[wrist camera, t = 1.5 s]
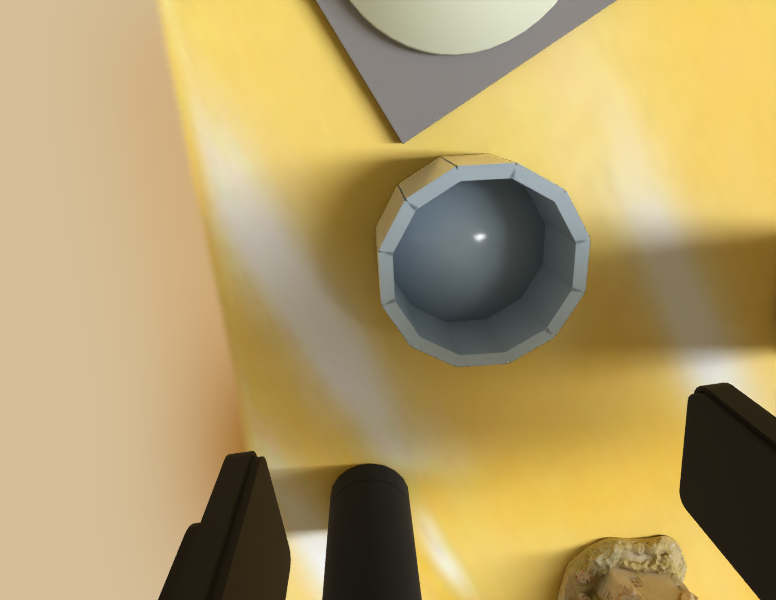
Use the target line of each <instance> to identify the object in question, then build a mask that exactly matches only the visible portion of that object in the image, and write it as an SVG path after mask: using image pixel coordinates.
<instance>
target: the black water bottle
mask: <svg viewBox="0 0 776 600" xmlns="http://www.w3.org/2000/svg"><path fill="white" fill-rule="evenodd" d="M322 600H422V598H421V590H420V582H419V574H418V566H417V558H416V550H415V542H414V534H413V526H412V517H411V509H410V501H409V493H408V487H407V485H406V483H405V481H404V479H403V478H402V477H401V476H400V475H399V474H398V473H397V472H396V471H394V470H392V469H390V468H388V467H385V466H382V465H375V464H367V465H359V466H356V467H354V468H351V469H349V470H347V471H346V472H345V473H343V474H342V475H341V476H339V477H338V479H337V480H336V482H335V484H334V485H333V487H332V492H331V497H330V510H329V522H328V535H327V548H326V560H325V573H324V585H323V598H322Z"/></svg>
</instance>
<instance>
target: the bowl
mask: <svg viewBox="0 0 776 600" xmlns="http://www.w3.org/2000/svg"><path fill="white" fill-rule="evenodd" d="M375 231H376V248H377V266H378V279H379V288H380V298H381V304H382V307H383V308H384V310H385V311H386V313H387V314H388V315H389V317H390V318H391V320H392V321H393V323H394V324H395V325H396V327H397V328H398V330H399V331H400V332H401V334H402V335H403V337H404V338H405V340H406V341H407V342H408V344H409V345H411V347H412V348H415V349H417V350H419V351H421V352H424V353H426V354H428V355H430V356H433V357H435V358H437V359H439V360H441V361H444V362H446V363H448V364H450V365H453V366H455V367H456V366H457V367H468V366H483V365H498V364H508V362H509V363H511V362H513V361H514V360H516V359H518V358H519V357H521V356H523V355H525V354H526V353H528V352H530V351H532V350H533V349H535V348H537V347H539V346H540V345H542V344H544V343H546V342H547V341H549V340H551V339H553V338H554V336H556V335H557V333H558V332H559V331H560V329H561V328H562V326H563V325H564V323H565V322H566V320H567V319H568V317H569V316H570V314H571V313H572V311H573V310H574V308H575V307H576V305H577V304H578V302H579V301H580V299H581V298H582V296H583V295H584V292H583V291H586V281H587V270H588V260H589V249H590V239H589V238H590V237H589V235H588V233H587V231H586V229H585V227H584V225H583V223H582V221H581V219H580V217H579V215H578V213H577V211H576V209H575V207H574V205H573V203H572V201H571V199H570V197H569V195H568V193H567V191H565V189H563V188H561V187H559V186H558V185H556V184H554V183H552V182H550V181H549V180H547V179H545V178H543V177H542V176H540V175H538V174H536V173H534V172H533V171H531V170H529V169H527V168H525V167H524V166H522V165H520V164H518V163H516V162H513V161H510V160H507V159H504V158H501V157H498V156H495V155H492V154H473V155H455V156H441V158H440V157H438V158H437V159H435V160H434V161H432V162H431V163H429V164H428V165H426V166H424V167H423V168H421V169H420V170H418V171H417V172H415V173H414V174H412V175H411V176H409V177H408V178H406V179H405V180H403V181H402V182H400V183H399V186H398V185H397V186H396V188H395V190H394V192H393V194H392V196H391V198H390V200H389V202H388V204H387V206H386V208H385V210H384V212H383V214H382V216H381V218H380V220H379V222H378V224H377V226H376V229H375ZM553 335H554V336H553Z"/></svg>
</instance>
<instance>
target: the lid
mask: <svg viewBox="0 0 776 600" xmlns="http://www.w3.org/2000/svg"><path fill="white" fill-rule="evenodd" d="M349 1H350V3H351V4H352V5H353V6H354V7H355V8H356V10H357V11H358V12H359V13H360V14H361V15H362V17H363V18H364V19H366V20H367V21H368V22H369V23H370V24H371V25H372V26H373V27H375V28H376V29H377V30H378V31H380V32H381V33H383V34H384V35H386V36H387V37H389V38H390V39H391V40H394V41H396V42H398V43H400V44H402V45H404V46H406V47H408V48H411V49H414V50H417V51H420V52H424V53H430V54H436V55H454V56H456V55H465V54H473V53H476V52H480V51H484V50H488V49H490V48H493V47H495V46H498V45H500V44H502V43H505V42H507V41H509V40H511V39H512V38H514V37H516V36H517V35H519V34H521V33H522V32H524V31H526V30H527V29H528V28H530V27H531V26H532V25H533V24H535V23H536V22H537V21H538V20H540V19H541V18H542V17H543V16H544V15H545V14H546V13H547V12H548V11H549V10H550V9H551V8H552V7H553V6H554V5H555V3H556V2H557V1H558V0H349Z"/></svg>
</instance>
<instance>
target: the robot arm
mask: <svg viewBox="0 0 776 600" xmlns="http://www.w3.org/2000/svg"><path fill="white" fill-rule="evenodd" d="M680 498H681V501H682V503H683V505H684V507H685V509H686V510H687V511H688V513H689V514H690V515H691V516H692V517H693V519H694V520H695V521H696V522H697V523H698V525H699V526H700V527H701V528H702V530H703V531H704V532H705V533H706V534H707V536H708V537H709V538H710V539H711V541H712V542H713V543H714V544H715V545H716V547H717V548H718V549H719V550H720V551H721V553H722V554H723V555H724V556H725V558H726V559H727V560H728V561H729V562H730V564H731V565H732V566H733V567H734V569H735V570H736V571H737V572H738V573H739V575H740V576H741V577H742V578H743V579H744V581H745V582H746V583H747V584H748V586H749V587H750V588H751V589H752V590H753V592H754V593H755V594H756V595H757V597H758V598H759V599H760V600H776V417H775V416H773V415H772V414H771V413H769V412H768V411H766V410H765V409H764V408H762V407H761V406H760V405H758V404H757V403H756V402H754V401H753V400H752V399H750V398H749V397H747V396H746V395H745V394H743V393H742V392H741V391H739V390H738V389H737V388H735V387H734V386H732V385H731V384H729V383H718V384H711V385H704V386H699V387H697V388H696V390H695V392H694V394H692V395H690V396H689V398H688V404H687V415H686V426H685V436H684V447H683V458H682V468H681V479H680ZM290 563H291V558H290V549H289V545H288V541H287V537H286V534H285V530H284V526H283V522H282V518H281V515H280V511H279V507H278V503H277V500H276V496H275V492H274V488H273V485H272V481H271V477H270V473H269V470H268V466H267V462H266V459H265V458H264V457H263V456H262V457H257V455H256V453H255V452H254V451H249V452H242V453H235V454H229V455H227V456H226V458H225V460H224V462H223V465H222V468H221V470H220V473H219V476H218V478H217V481H216V483H215V486H214V489H213V491H212V494H211V497H210V500H209V502H208V504H207V507H206V510H205V512H204V515H203V518H202V520H201V523H194V524H192V525H191V526H189V528H188V529H187V531H186V533H185V535H184V538H183V540H182V542H181V545H180V547H179V550H178V552H177V555H176V557H175V560H174V562H173V565H172V567H171V569H170V572H169V574H168V577H167V579H166V582H165V584H164V587H163V589H162V592H161V594H160V596H159V599H158V600H285V599H286V592H287V586H288V579H289V572H290Z"/></svg>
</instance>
